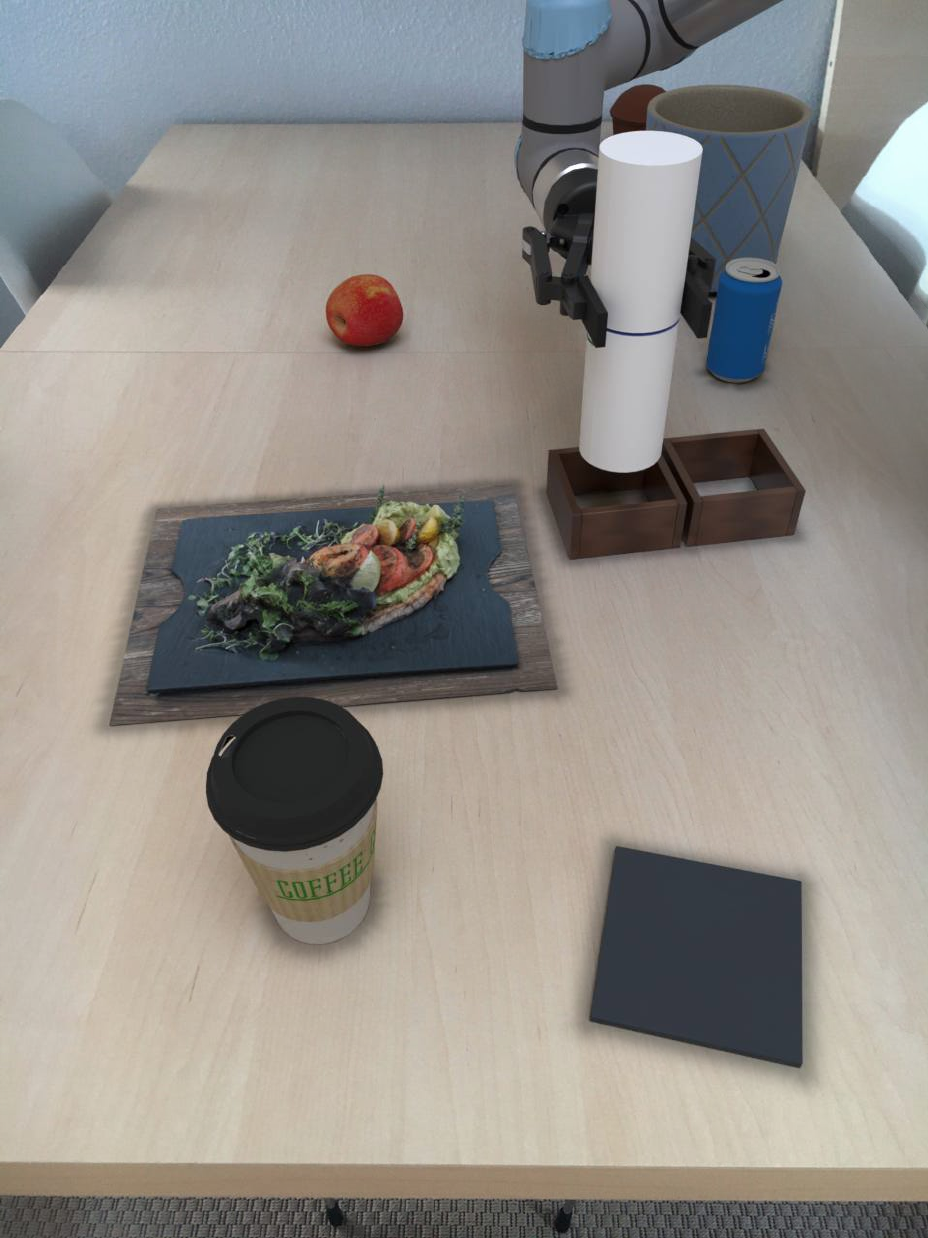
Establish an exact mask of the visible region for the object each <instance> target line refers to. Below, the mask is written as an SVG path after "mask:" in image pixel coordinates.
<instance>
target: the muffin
mask: <svg viewBox="0 0 928 1238" xmlns="http://www.w3.org/2000/svg"><path fill="white" fill-rule="evenodd" d="M667 91H668V90H665V89H664V88H663V87H661V86H659V85H655V84H649V83H647V84H644V83H643V84H637V85H633V86H631V87H629V88H628V89H626V90H624V91H623V92H622V93H620V95H619V96H618V97H617V98H616V100H615V101H614V103H613V104H612V105H611V107H610V109H609V114H610V118H612V119H611V120H612V136H613V135H616V134H621V133H626V132H633V131H646V122H647V108H648V104H649V102H650V101H651V100H652V99H653V98H654V97H656V96H658V95H659V94H662V93H664V92H667Z"/></svg>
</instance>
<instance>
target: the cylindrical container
mask: <svg viewBox="0 0 928 1238" xmlns="http://www.w3.org/2000/svg"><path fill="white" fill-rule="evenodd" d="M702 151H703V148H702V146H701V144H700V143H699V142H697V141H696V140H694V139H692V138H689V137H687V136H684V135H680V134H676V133H670V132H663V131H633V132H626V133H621V134H616V135H613V134H612V135H611V136H609V137H607V138H605V139H603V140H602V141H600V146H599V161H598V176H597V191H596V206H595V221H594V236H593V251H592V265H590V267H591V268H590V281H591V283H592V285H593V286H594V288H595V290H596V292H597V294H598V296H599V297H600V299H601V301H602V303H603V305H604V306H605V308H606V310H607V312H608V321H607V333H606V345H605V347H602V348H595V346H594V344H593V342H592V340H591V338H590V336H589V334H588V332H587V331H586V340H585V341H586V343H585V355H584V369H583V370H584V371H583V372H584V373H583V385H582V401H581V412H580V413H581V414H580V430H579V440H578V441H579V442H578V447H579V451H580V453H581V456H582V457H583V458H584V459H585V460H586V461H587V462H588V463H590V464H591V465H593V466H595V467H597V468H600V469H603V470H607V471H612V472H636V471H640V470H643V469H646V468H649V467H650V466H652V465H654V464H655V463H656V462H657V461H658V460H659V458H660V456H661V452H662V444H663V438H665V437H664V436H665V431H666V430H665V429H666V423H667V422H666V421H667V414H668V407H669V399H670V393H671V392H670V391H671V385H672V378H673V369H674V362H675V356H676V348H677V340H678V335H679V334H678V333H679V328H680V327H679V326H680V318H681V313H680V312H681V305H682V297H683V290H684V283H685V275H686V268H687V261H688V253H689V246H690V239H691V231H692V224H693V217H694V209H695V202H696V195H697V187H698V180H699V173H700V165H701V158H702Z"/></svg>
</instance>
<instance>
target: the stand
mask: <svg viewBox="0 0 928 1238" xmlns="http://www.w3.org/2000/svg"><path fill="white" fill-rule="evenodd" d="M547 451H548V452H547V453H548V454H547V473H546V493H545V494H546V497H547V498H548V502H549V505H550V507H551V510H552V512H553V515H554V519H555V522H556V525H557V527H558V530H559V533H560V536H561V539H562V542H563V545H564V547H565V550H566V552H567V555H568V559H569V560H578V559H586V558H597V557H604V556H613V555H623V554H631V553H640V552H651V551H659V550H668V549H675V548H676V549H679V548H681V543H682V540H683V542H684V545H685V546H686V547H695V546H707V545H715V544H724V543H731V542H739V541H751V540H759V539H760V540H761V539H767V538H768V539H769V538H777V537H786V536H793V535H795V533H796V529H797V526H798V521H799V517H800V514H801V510H802V506H803V503H804V499H805V495H806V492H807V491H806V489H805V487H804V486H803V484H802V483H801V481H800V479H799V478H798V477H797V474H795V472H794V471H793V469H792V467H791V466H790V464H789V463H788V462H787V460H786V459H785V458H784V456H783V455H782V453H781V452H780V450H779V449H778V447H777V446H776V444H775V443H774V441H773V440H772V438H771V437H770V436H769V434H768V432H767V431H766V429H765V428H754V429H753V428H752V429H743V430H734V431H723V432H714V433H704V434H693V435H683V436H674V437H663V444H662V452H661V456H660V458H659V460H658V461H657V462H656V463H655V464H654V465H652V466H650V467H649V468H646V469H643V470H640V471H636V472H612V471H607V470H603V469H600V468H597V467H595V466H593V465H591V464H590V463H588V462H587V461H586V460H585V459H584V458H583V457H582V456H581V453H580V451H579V446H574V447H563V448H555V449H554V448H553V449H548V450H547ZM738 478H739V479H740V478H750V479H751V481H752V483H753V484H754V485H755V487H756V489H757V490H748V491H747V490H745V491H736V492H727V493H719V494H709V495H700V494H699V492H698V489H697V488H696V486H695V484H694V483H700V482H701V483H702V482H712V481H719V480H720V481H721V480H730V479H731V480H732V479H738ZM635 489H643V491H644V493H645V495H646V498H647V500H648V501H644V502H636V503H626V504H625V503H624V504H615V505H607V506H597V507H588V508H581V509H580V506H579V504H578V501H577V499H576V496H578V495H588V494H596V493H607V492H615V491H625V490H635Z"/></svg>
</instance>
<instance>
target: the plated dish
mask: <svg viewBox="0 0 928 1238" xmlns="http://www.w3.org/2000/svg"><path fill="white" fill-rule="evenodd" d="M385 488H386V486H385V485H384V484H383V485H382V487H380V488H379V490H378V493H377V492H376V493H375V492H374V493H360V494H345V495H332V496H330V495H329V496H316V497H315V496H314V497H302V498H288V499H287V498H286V499H273V500H272V499H271V500H270V499H269V500H257V501H242V502H241V501H240V502H229V503H228V502H227V503H214V504H212V503H211V504H200V505H199V504H197V505H184V506H182V505H181V506H169V507H168V506H167V507H166V506H165V507H157V508H156V511H155V515H154V519H153V524H152V529H151V533H150V536H149V542H148V545H147V551H146V555H145V560H144V563H143V568H142V573H141V578H140V583H139V586H138V587H139V588H138V592H137V595H136V596H137V597H136V601H135V606H134V609H133V615H132V619H131V623H130V630H129V634H128V638H127V643H126V646H125V647H126V648H125V652H124V656H123V660H122V666H121V670H120V674H119V679H118V683H117V684H118V685H117V689H116V693H115V697H114V702H113V706H112V710H111V714H110V720H109V724H108V726H119V725H120V726H121V725H122V726H123V725H133V724H145V723H155V722H157V723H158V722H167V721H168V722H169V721H180V720H192V719H204V718H216V717H226V716H227V717H229V716H237V715H240V716H241V715H243V714H245V713H247V712H248V711H250V710H252V709H254V708H255V707H257V706H260V705H262V704H265V703H267V702H270V701H274V700H278V699H282V698H291V697H313V698H318V699H323V700H327V701H329V702H332V703H334V704H337V705H339V706H341V707H346V706H358V705H359V706H360V705H370V704H382V703H394V702H407V701H419V700H433V699H443V698H455V697H467V696H470V697H471V696H480V695H493V694H503V693H504V694H505V693H510V692H514V691H516V690H518V691H520V692H529V691H541V690H543V691H544V690H554V689H558V684H557V678H556V675H555V670H554V665H553V661H552V657H551V652H550V647H549V643H548V638H547V634H546V630H545V624H544V620H543V616H542V611H541V606H540V602H539V597H538V593H537V588H536V584H535V579H534V574H533V571H532V565H531V561H530V557H529V551H528V548H527V543H526V538H525V533H524V529H523V524H522V520H521V516H520V515H521V514H520V511H519V507H518V506H519V505H518V501H517V497H516V493H515V488H514V484H513V483H511V484H497V485H496V484H493V485H478V486H468V487H466V486H465V487H464V486H463V487H450V488H449V487H448V488H435V489H420V490H418V489H417V490H406V491H389V492H385ZM254 619H255V620H256V621H255V620H254ZM252 620H254V621H252ZM247 621H252V623H253V624H251V625H249V626H248V627H247V628H245V629H242V630H240V631H238V630H239V629H241V628H243V627H245V626H246V624H247Z"/></svg>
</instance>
